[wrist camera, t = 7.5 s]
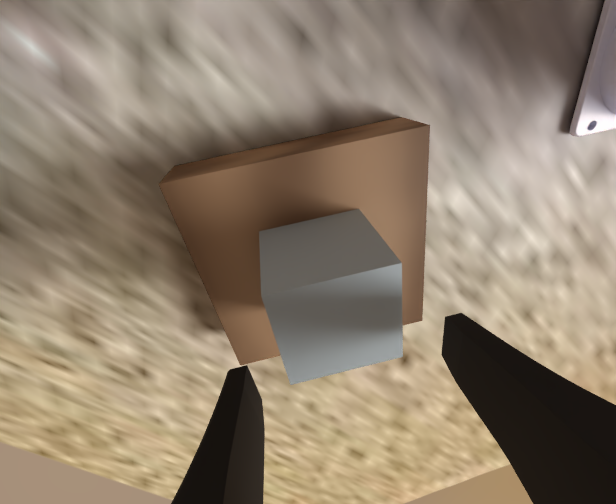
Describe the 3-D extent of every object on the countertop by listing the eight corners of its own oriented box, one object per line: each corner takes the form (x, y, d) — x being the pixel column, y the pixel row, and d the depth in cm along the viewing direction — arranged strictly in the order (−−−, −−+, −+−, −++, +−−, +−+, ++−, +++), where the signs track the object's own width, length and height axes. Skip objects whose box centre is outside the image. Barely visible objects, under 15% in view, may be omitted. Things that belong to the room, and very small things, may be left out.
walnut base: (401, 117, 16) (429, 125, 13) (402, 292, 22) (422, 320, 19) (174, 166, 15) (158, 184, 13) (242, 330, 21) (240, 365, 19)
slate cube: (358, 208, 15) (401, 262, 10) (366, 287, 17) (402, 356, 13) (259, 231, 14) (261, 296, 10) (281, 307, 17) (290, 384, 13)
